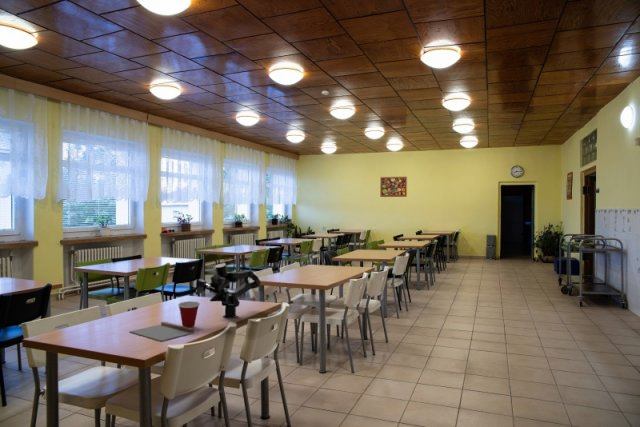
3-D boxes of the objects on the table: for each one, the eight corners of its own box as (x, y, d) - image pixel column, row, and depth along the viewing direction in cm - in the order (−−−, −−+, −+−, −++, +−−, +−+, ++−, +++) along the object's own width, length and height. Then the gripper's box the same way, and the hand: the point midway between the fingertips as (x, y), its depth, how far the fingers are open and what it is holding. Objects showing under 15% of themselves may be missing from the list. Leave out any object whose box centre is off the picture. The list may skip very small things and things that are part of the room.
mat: (159, 325, 230) (159, 324, 230) (192, 333, 214) (192, 332, 214) (129, 332, 216) (129, 331, 216) (161, 341, 201) (161, 340, 201)
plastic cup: (177, 329, 222) (177, 305, 222) (178, 324, 232) (178, 301, 232) (199, 328, 225) (199, 305, 225) (199, 323, 235) (199, 301, 235)
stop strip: (164, 325, 231) (164, 321, 231) (194, 332, 217) (194, 328, 217) (161, 325, 229) (161, 322, 229) (190, 333, 215) (190, 329, 215)
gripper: (207, 265, 243) (189, 277, 229) (236, 278, 237) (219, 290, 223) (205, 283, 247) (187, 295, 233) (234, 295, 241) (217, 309, 228)
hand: (203, 297), depth 229 cm, fingers open, 9 cm apart
